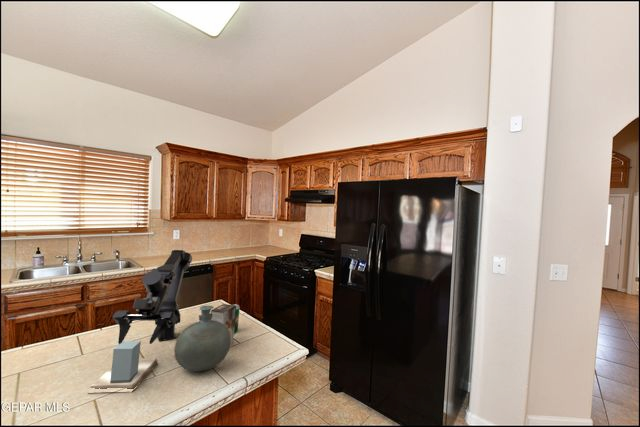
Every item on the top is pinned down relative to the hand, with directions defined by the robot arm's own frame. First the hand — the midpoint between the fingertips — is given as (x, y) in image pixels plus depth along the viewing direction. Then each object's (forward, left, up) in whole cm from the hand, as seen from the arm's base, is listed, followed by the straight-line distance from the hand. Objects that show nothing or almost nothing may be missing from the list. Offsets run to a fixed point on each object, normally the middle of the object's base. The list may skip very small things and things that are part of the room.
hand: (134, 343), depth 83 cm
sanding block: (+4, -2, -8) cm, 9 cm away
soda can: (-18, +39, -11) cm, 44 cm away
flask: (+8, +19, -11) cm, 23 cm away
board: (0, -1, -10) cm, 11 cm away
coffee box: (-6, +30, -11) cm, 33 cm away
